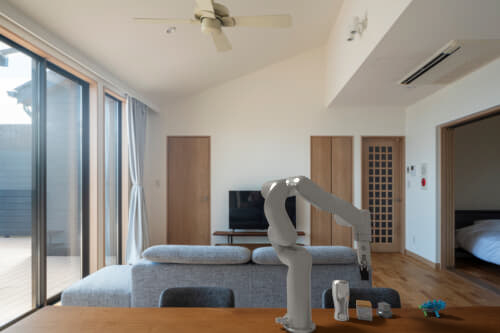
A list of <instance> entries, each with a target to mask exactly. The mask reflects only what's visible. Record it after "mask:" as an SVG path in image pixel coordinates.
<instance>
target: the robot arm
mask: <svg viewBox="0 0 500 333" xmlns="http://www.w3.org/2000/svg"><path fill="white" fill-rule="evenodd" d="M260 188H261V189H260V194H261V195H262V198H264V204H263V210H264V215H265V218H266V220H267V223H268V225H269V226H268V228H267V238H268V240H269V242H270V244H271V246H272V249H273V250H274V252H275V254H276V256H277V258H278V259H279V260H280V262H281V263H282V264H284V265H285V266H287V267H288V270H287V274H286V307H287V308H286V310H287V311H286V312H287V313H284V315H283V316H282V317H281V316H280V317H275V323H276V324H281V325H282V326H283V328H284V329H285V330H286V331H287V332H290V333H312V332H314V331H316V328H317V327H316V326H317V325H316V323H315V322H314V321H313V320H312V294H311V293H312V289H311V274H312V272H311V271H312V265H313V257H312V254H311V252H310V251H309V250H308V249H307V248H306V247H304V246H302V245H298V244H296V243H297V241H298V232H297V230H296V227H295V226H294V225H293V223H292V220H291V219H290V217H289V215H288V212H287V210H286V206H285V204H286V200H287V198H289V197H294V196H295V197H296V196H298V197H299V198H301V199H302V200H305V201H306V202H307V203H309V204H310V205H311V206H313V207H314V208H316V209H317V210H320V211H322V212H326V213H330V214H333V218H334V221H335V223H336V224H337V225H339V226H341V227H349V228H352V229H353V230H352V234H353V241H354V242H355V243H356V255H357V260H358V264H359V265H358V270H359V275H360V280H361V281H368V282H369V281H370V271H369V266H372V259H371V245H370V242H372V241H373V239H372V238H373V237H372V225H371V224H372V222H371V220H372V217H371V212H370V210H368V209H364V208H362V209H359V208H358V207H356V206H355V205H353V204H352V202H351V203H350V202H349V201H347V200H345V199H343V198H341V197H339V196H337V195H335V194H333V193H331V192H329V191H327V190H325V189H324V188H323V187H322V186H320V185H318V184H317V183H316V182H315V181H313V180H312V179H310V178H309V177H307V176H305V175H297V176H291V177H290V176H289V177H286V178H282V179H273V180H269V181H268V180H267V181H266V182H264V183H263V184H262V186H261V187H260ZM368 265H369V266H368Z"/></svg>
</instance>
